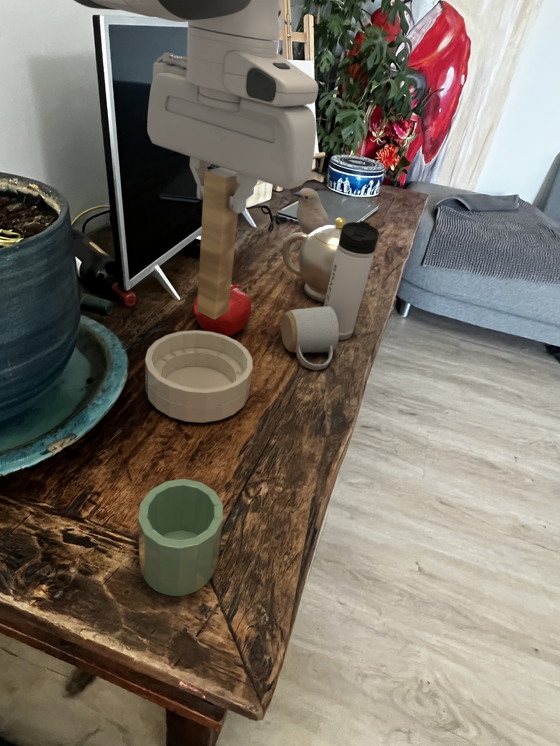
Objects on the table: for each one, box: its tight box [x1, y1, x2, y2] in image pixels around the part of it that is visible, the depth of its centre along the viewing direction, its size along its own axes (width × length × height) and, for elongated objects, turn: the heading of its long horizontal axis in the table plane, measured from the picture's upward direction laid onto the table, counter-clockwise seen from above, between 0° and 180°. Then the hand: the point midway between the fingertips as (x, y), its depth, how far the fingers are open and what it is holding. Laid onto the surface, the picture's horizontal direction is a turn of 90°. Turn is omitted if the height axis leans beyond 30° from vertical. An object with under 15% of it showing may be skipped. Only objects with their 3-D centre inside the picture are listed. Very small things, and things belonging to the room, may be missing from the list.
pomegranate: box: [193, 283, 252, 337], centre depth 85 cm, size 10×10×9 cm
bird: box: [292, 187, 331, 235], centre depth 117 cm, size 5×14×15 cm, turn 100°
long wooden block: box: [197, 166, 241, 319], centre depth 61 cm, size 3×3×18 cm
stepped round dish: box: [144, 329, 254, 423], centre depth 70 cm, size 15×15×6 cm
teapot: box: [281, 217, 347, 304], centre depth 99 cm, size 18×14×16 cm
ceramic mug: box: [280, 306, 339, 371], centre depth 82 cm, size 11×8×8 cm
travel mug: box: [323, 220, 380, 341], centre depth 86 cm, size 6×7×20 cm
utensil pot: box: [137, 478, 224, 597], centre depth 48 cm, size 8×8×8 cm
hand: (220, 205), depth 58 cm, fingers closed on long wooden block, 3 cm apart
